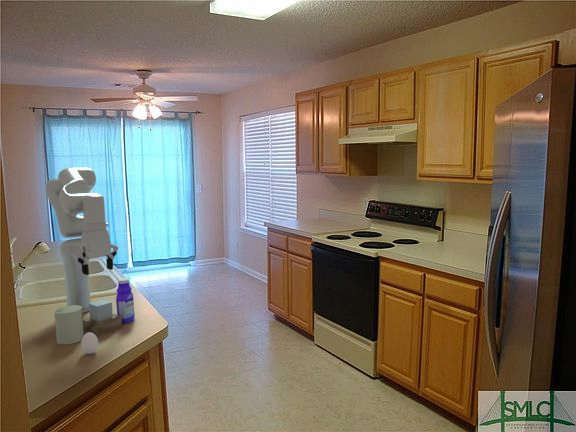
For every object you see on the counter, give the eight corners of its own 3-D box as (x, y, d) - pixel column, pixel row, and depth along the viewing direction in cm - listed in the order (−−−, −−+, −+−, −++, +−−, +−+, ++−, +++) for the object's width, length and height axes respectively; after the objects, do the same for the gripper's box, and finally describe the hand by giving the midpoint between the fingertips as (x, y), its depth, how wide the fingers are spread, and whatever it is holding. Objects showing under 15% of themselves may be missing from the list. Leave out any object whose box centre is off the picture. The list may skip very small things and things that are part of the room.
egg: (101, 350, 152) (99, 329, 152) (95, 356, 147) (93, 335, 146) (85, 350, 152) (84, 329, 151) (79, 357, 147) (77, 335, 146)
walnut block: (82, 332, 170) (81, 320, 169) (103, 324, 178) (102, 312, 178) (101, 336, 165) (100, 323, 165) (121, 327, 174) (121, 315, 173)
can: (54, 338, 163) (51, 307, 162) (81, 332, 169) (78, 302, 167) (59, 346, 156) (56, 313, 154) (87, 340, 161) (84, 308, 160)
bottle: (127, 324, 177) (125, 281, 175) (114, 323, 178) (112, 281, 176) (137, 318, 184) (134, 277, 182) (124, 317, 185) (122, 276, 183)
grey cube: (89, 318, 171) (88, 303, 170) (104, 314, 175) (103, 299, 174) (98, 321, 167) (97, 306, 166) (112, 317, 172) (111, 302, 171)
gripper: (110, 223, 176) (113, 266, 178) (67, 229, 162) (70, 275, 164) (121, 225, 171) (124, 268, 174) (77, 231, 158) (81, 278, 160)
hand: (98, 271), depth 169 cm, fingers open, 9 cm apart
